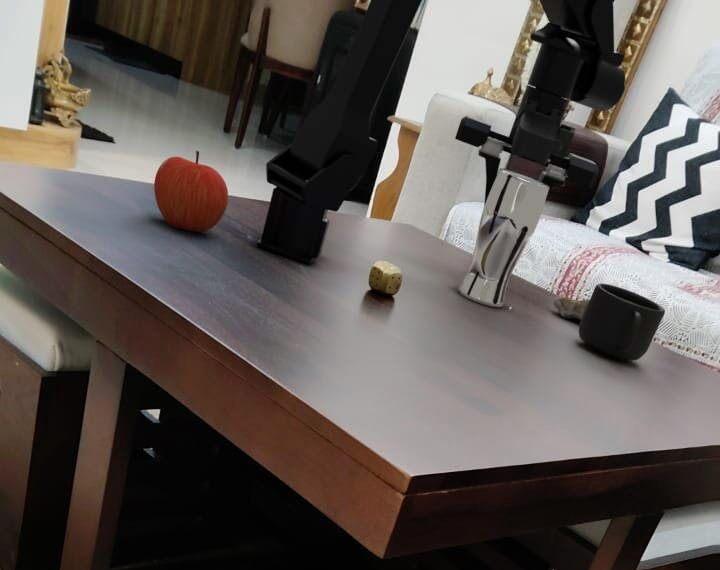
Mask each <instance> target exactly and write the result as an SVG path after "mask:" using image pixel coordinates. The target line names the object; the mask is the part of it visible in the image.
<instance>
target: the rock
mask: <svg viewBox="0 0 720 570" xmlns="http://www.w3.org/2000/svg"><path fill="white" fill-rule="evenodd" d="M589 301H590V298H589V299H580V300H579V299H578V300H576V299H572V298H570V297H567V296H565V297H564V296H563V297H560V298H557V299H555V300H554V301H553V306H554V308H555V309H557V310H558V312H559V315H560V316H561V317H562V318H565V319H567V320H569V319H579V320H580V321H581V319H582V317H583V315H584V312H585V310H586V308H587V305H588V303H589Z"/></svg>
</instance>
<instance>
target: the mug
mask: <svg viewBox="0 0 720 570" xmlns="http://www.w3.org/2000/svg"><path fill="white" fill-rule="evenodd" d="M589 299H590V301H589V303H588V305H587V308H586V310H585V312H584V315H583V317H582V319H581V320H580V322H579V326H578V336H579V338H580V339H581V340H582V341H583V342H584V343H585V346H586V348H588V349H589V350H591V351H592V352H594V353H596V354H597V355H600V356H602V357H605V358H607V359H610V360H612V361H613V360H614V361H616V362H628V361H638V360H639V359H641V358H643V356H644V355H646V353H647V351H648V350H649V349H650V346H651V344H652V342H653V339H654V338H655V335H656V334H657V331H658V329H659V327H660V324H661V323H662V320H663V319H664V316H665V313H666V310H665V308H664V307H663V306H662V305H660V304H659V303H657V302H655V301H653V300H651V299H650V298H648V297H645V296H643V295H641V294H638V293H636V292H634V291H631V290H628V289H626V288H622V287H619V286H615V285H612V284H608V283H597V284H596V285H595V287H594V289H593V292H592V294H591V296H590V298H589Z"/></svg>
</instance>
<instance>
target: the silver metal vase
mask: <svg viewBox="0 0 720 570" xmlns="http://www.w3.org/2000/svg"><path fill="white" fill-rule="evenodd" d="M549 188H550V187H549V186H548V185H547V184H545V183H543V182H540V181H538V179H536V178H534V177H530V176H528V175H525V174H523V173H521V172H517V171H513V170H510V169H507V168H502V167H499V169H498V173H497V176H496V178H495V181H494V183H493V185H492V188H491V190H490V192H489V195H488V197H487V200H486V203H485V202H484V203H485V206H484V205H483V209H482V213H481V216H480V219H479V225H478V230H477V235H476V241H475V246H474V251H473V256H472V258H471V259H472V260H471V262H470V266H469V268H468V270H467V272H466V274H465V276H464V278H463V280H462V281H461V283H460V285H459V287H458V293H459V294H460V295H461V296H463V297H464V298H466V299H469V300H470V301H473V302H475V303H478V304H481V305H484V306H486V307H487V306H488V307H492V308H496V309H497V308H502V307H503V306H504V302H505V299H506V298H505V297H506V293H507V288H508V286H509V285H508V284H509V282H510V279H511V276H512V274H513V272H514V271H515V268H516V266H517V265H518V262H519V261H520V259H521V257H522V255H524V252H525V250H526V249H527V247H528V245H529V243H530V241H531V239H532V237H533V236H534V234H535V232H536V229H537V226H538V224H539V222H540V219H541V215H542V213H543V211H544V206H545V204H546V199H547V196H548V194H549V192H548V190H549Z"/></svg>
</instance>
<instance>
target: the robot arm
mask: <svg viewBox="0 0 720 570" xmlns="http://www.w3.org/2000/svg"><path fill="white" fill-rule="evenodd" d="M422 2H423V0H370V2H369V4H368V6H367V7H366V11H365V13H364V15H363V17H362V20H361V22H360V25H359V27H358V29H357V32H356V33H355V36H354V38H353V41H352V43H351V45H350V47H349V50H348V53H347V55H346V57H345V60H344V61H343V64H342V67H341V69H340V71H339V74H338V75H337V78H336V80H335V83H334V85H333V87H332V90H331V91H330V93H329V95H328V96H327V97H326V98H325V99H324V100H322V102H321V103H319V104H318V105H317V106H316V107H315V108H314V109H312V111H311V112H309V113H308V115H307V116H306V117H305V119H304V121H303V123H302V125H301V126H300V128H299V130H298V131H297V133H296V135H295V136H294V138H293V140H292V142H291V143H290V144H288V146H287V147H285V148H284V149H282V150H281V151H280V152H278V153H277V154H276V155H275V156H273V158H271V159H270V160H269V161H267V162H266V165H265V172H266V173H265V174H266V183H268V184H270V185H272V186H274V188H273V189H272V193H271V197H270V201H269V205H268V210H267V214H266V217H265V221H264V224H263V225H264V226H263V229H262V234H261V238H259V239H258V240H257V242H256V246H258V247H260V248H263V249H265V250H269V251H271V252H273V253H276V254H279V255H283V256H286V257H288V258H290V259H294V260H296V261H300V262H302V263H305V264H309V265H310V264H312V263H313V262H314V260H316V259H318V258H319V257H320V256H321V254H322V252H323V248H324V244H325V240H326V237H327V234H328V230H329V226H330V223H331V221H330V218H328V217H327V214H328V212H335V213H336V212H338V211H339V210H340V208H341V206H342V205H343V203H344V201H345V200H346V198H347V196H348V195H349V193H350V192H351V191H353V190H354V188H355V187H356V186H357V185H358V183H359V181H360V179H361V178H362V179H366V177H367V171H368V167H369V166H370V165H369V164H370V163H371V160H372V159H373V157H374V156H375V154H376V152H377V151H378V146H379V142H378V140H376V139H374V138H372V137H371V135H370V134H371V126H370V125H371V123H370V122H371V116H372V113H373V111H374V109H375V106H376V104H377V102H378V99H379V98H380V96H381V93H382V90H383V88H384V87H385V84H386V82H387V79H388V77H389V76H390V73H391V70H392V68H393V66H394V64H395V62H396V60H397V58H398V56H399V52H400V51H401V49H402V46H403V44H404V42H405V39H406V37H407V35H408V33H409V31H410V28H411V26H412V25H413V22H414V19H415V17H416V15H417V13H418V11H419V8H420V6H421V4H422ZM614 2H615V0H539V3H540V5H541V7H542V10H543V11H544V14H545V16H546V19H547V21H548V22H547V23H546V24H545V25H544V26H543V27H541V28H539V29H536V30H535V31H533V32H531V34H530V37H529V39H530V40H531V41H533V42H535V43H538V44H540V47H539V51H538V53H537V56H536V59H535V62H534V64H533V67H532V70H531V73H530V75H529V77H528V81H527V85H526V87H525V90H524V93H523V95H522V98H521V100H520V103H519V107H518V110H517V112H516V115H515V118H514V120H513V124H512V126H511V129H510V132H509V135H505V134H503V133H500V132H497V131H495V130H492V123H490V122H487V121H484V120H481V119H478V118H476V117H473V116H471V115H468V114H467V115H465V116H463V117H461V119H460V122H459V126H458V128H457V131H456V134H455V137H454V139H455V140H456V141H460V142H461V143H462V142H463V143H464V144H468V145H470V146H473V147H475V148H479V147H480V148H479V150H478V153H477V154H478V156H479V157H481V158H483V159H484V160H485V188H484V189H485V191H484V192H485V193H484V205H483V207H484V206H485V203H486V200H487V197H488V195H489V192H490V190H491V188H492V185H493V183H494V181H495V178H496V176H497V174H498V171H499V169H500V164H501V161H502V157H501V155H500V154H502V153H503V152H505V153H508V154H511V155H513V156H516V157H518V158H521V159H524V160H527V161H530V162H532V163H535V164H538V165H541V166H543V167H545V171H543V170H542V171H541V173H540V175H539V177H538V179H537V180H538V181H540V182H543V183H545V184H547V185H548V186H549V187H550V188H549V190H548V193H549V192H551V191H552V190H553V189H554V188H555V187H557V186H559V187H565V185H566V181H565V180H566V178H567V179H568V181H569V182H571V183H573V184H576V185H579V186H582V187H585V188H588V189H590V190H592V189H593V187H594V185H595V182H596V181H597V177H598V174H599V171H600V170H599V167H598V165H597V163H596V162H594V161H593V160H590V159H588V158H585V157H582V156H579V155H577V154H574V153H571V152H570V153H569V150H570V147H571V146H572V142H573V139H574V137H575V134H576V128H575V127H572V126H569V125H567V124H564V123H563V120H564V117H565V114H566V112H567V109H568V106H569V104H570V101H571V102H574V103H576V104H579V105H582V106H585V107H587V108H590V109H593V110H595V111H598V112H606V111H609V110H610V109H613V108H614V107H615V106H617V104H618V103H619V101H620V100H621V98H622V97H623V95H624V92H625V90H626V86H625V84H626V74H625V70H624V68H623V66H622V64H623V61H624V59H625V54H623V53H621V52H619V51H615V21H614V20H615V19H614V18H615V17H614V15H615V14H614ZM568 153H569V154H568ZM567 155H568V156H567Z"/></svg>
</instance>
